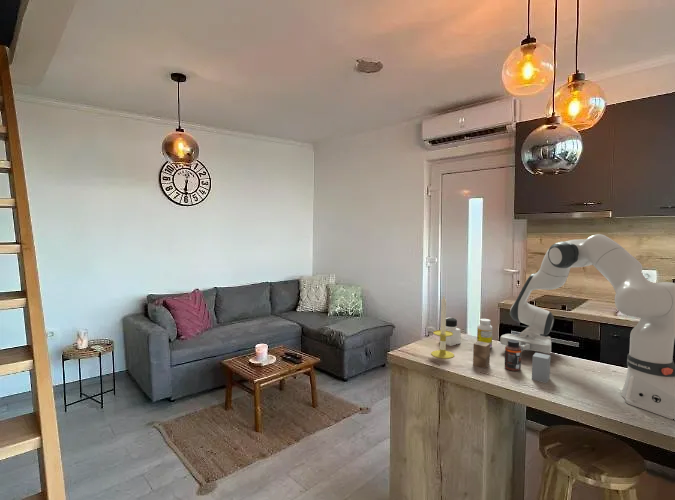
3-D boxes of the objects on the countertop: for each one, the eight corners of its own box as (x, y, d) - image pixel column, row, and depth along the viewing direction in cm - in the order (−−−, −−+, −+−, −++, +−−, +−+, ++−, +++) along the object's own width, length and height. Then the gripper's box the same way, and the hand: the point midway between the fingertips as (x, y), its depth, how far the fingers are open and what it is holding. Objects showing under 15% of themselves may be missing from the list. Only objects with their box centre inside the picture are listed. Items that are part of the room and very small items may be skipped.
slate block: (549, 378, 145) (550, 355, 144) (546, 383, 141) (547, 359, 140) (534, 375, 148) (535, 352, 147) (531, 379, 144) (532, 355, 144)
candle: (458, 355, 170) (460, 294, 168) (446, 360, 164) (447, 297, 162) (439, 349, 178) (440, 291, 176) (426, 354, 171) (427, 294, 169)
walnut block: (489, 364, 159) (490, 343, 158) (485, 368, 155) (486, 346, 154) (477, 362, 162) (477, 341, 161) (472, 365, 158) (473, 343, 158)
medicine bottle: (460, 343, 186) (461, 319, 185) (450, 346, 182) (451, 321, 182) (449, 339, 192) (449, 316, 191) (439, 342, 188) (439, 318, 188)
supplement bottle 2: (522, 372, 151) (523, 343, 150) (506, 370, 152) (507, 342, 152) (518, 366, 157) (519, 339, 156) (503, 365, 158) (503, 338, 157)
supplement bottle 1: (477, 343, 186) (478, 317, 185) (492, 345, 183) (493, 318, 182) (476, 347, 180) (476, 320, 179) (491, 349, 177) (492, 322, 176)
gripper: (505, 328, 181) (495, 335, 170) (554, 337, 168) (547, 345, 157) (504, 342, 181) (495, 349, 171) (553, 351, 168) (547, 360, 158)
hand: (520, 347), depth 164 cm, fingers closed
